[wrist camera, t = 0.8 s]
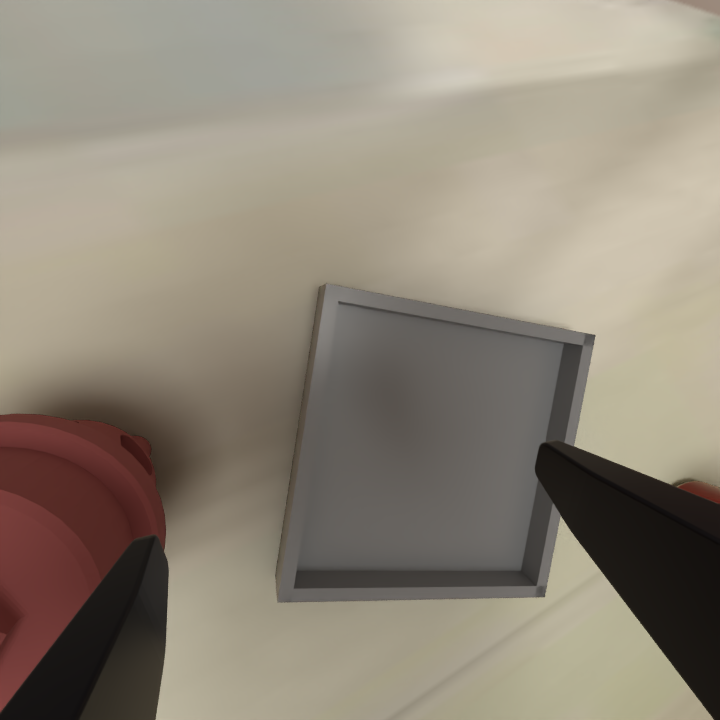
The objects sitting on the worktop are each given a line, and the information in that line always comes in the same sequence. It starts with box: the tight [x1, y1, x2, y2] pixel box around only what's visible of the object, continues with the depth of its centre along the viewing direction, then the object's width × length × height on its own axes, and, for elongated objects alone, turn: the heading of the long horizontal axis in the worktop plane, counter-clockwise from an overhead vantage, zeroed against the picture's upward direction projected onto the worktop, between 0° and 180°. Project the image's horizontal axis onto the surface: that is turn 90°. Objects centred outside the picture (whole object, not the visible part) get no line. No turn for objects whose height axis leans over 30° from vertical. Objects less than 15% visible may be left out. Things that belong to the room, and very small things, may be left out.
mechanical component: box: [0, 414, 166, 712], centre depth 16 cm, size 12×10×10 cm
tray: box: [275, 283, 595, 602], centre depth 26 cm, size 18×18×2 cm
